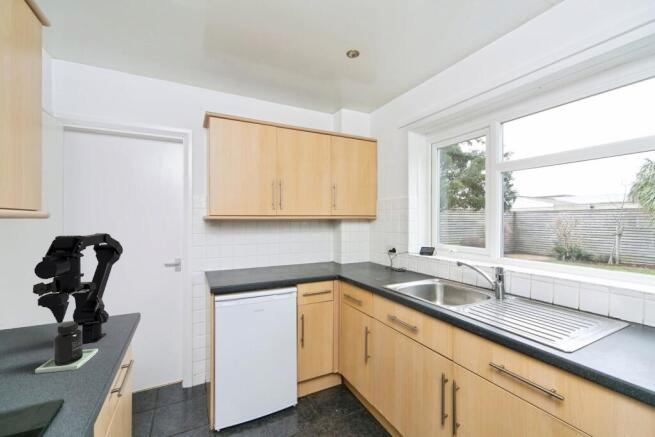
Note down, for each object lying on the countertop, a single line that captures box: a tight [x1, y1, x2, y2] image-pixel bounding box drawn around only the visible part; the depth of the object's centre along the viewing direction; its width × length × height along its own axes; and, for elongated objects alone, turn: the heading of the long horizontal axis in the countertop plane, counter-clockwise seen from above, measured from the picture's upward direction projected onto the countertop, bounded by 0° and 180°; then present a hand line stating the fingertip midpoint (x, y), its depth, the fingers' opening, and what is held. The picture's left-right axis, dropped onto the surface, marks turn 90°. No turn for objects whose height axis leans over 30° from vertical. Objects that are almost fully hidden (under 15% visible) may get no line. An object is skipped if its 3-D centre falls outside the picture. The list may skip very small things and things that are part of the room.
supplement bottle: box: [53, 321, 84, 366], centre depth 88 cm, size 7×7×12 cm
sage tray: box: [34, 348, 99, 375], centre depth 88 cm, size 11×11×1 cm
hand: (69, 317), depth 92 cm, fingers open, 9 cm apart
